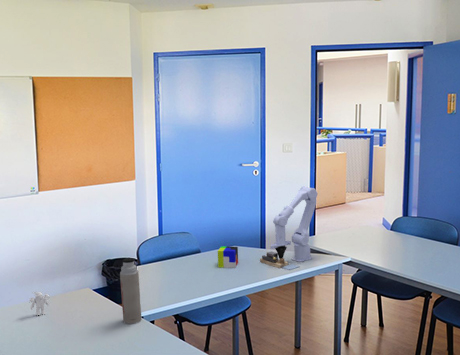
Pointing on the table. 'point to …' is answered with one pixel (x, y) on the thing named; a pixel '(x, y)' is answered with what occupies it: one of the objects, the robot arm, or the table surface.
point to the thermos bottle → (130, 292)
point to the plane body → (277, 264)
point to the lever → (269, 258)
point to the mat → (290, 267)
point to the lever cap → (272, 255)
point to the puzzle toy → (227, 257)
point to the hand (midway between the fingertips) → (281, 258)
